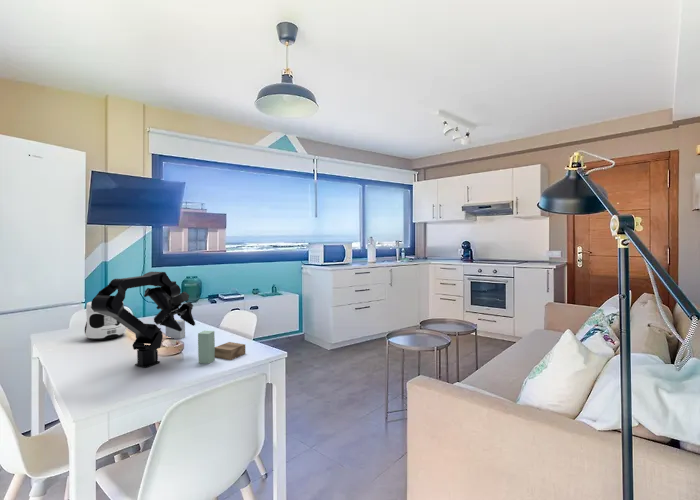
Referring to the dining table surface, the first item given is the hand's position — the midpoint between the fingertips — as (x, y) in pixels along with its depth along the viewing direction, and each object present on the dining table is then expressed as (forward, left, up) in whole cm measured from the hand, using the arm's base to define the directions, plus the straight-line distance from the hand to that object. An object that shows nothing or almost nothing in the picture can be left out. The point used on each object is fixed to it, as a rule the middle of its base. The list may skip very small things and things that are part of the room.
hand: (188, 327), depth 150 cm
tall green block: (+2, -8, -13) cm, 16 cm away
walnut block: (+12, -11, -13) cm, 21 cm away
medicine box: (+22, +33, -14) cm, 42 cm away
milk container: (+8, +65, -14) cm, 67 cm away
